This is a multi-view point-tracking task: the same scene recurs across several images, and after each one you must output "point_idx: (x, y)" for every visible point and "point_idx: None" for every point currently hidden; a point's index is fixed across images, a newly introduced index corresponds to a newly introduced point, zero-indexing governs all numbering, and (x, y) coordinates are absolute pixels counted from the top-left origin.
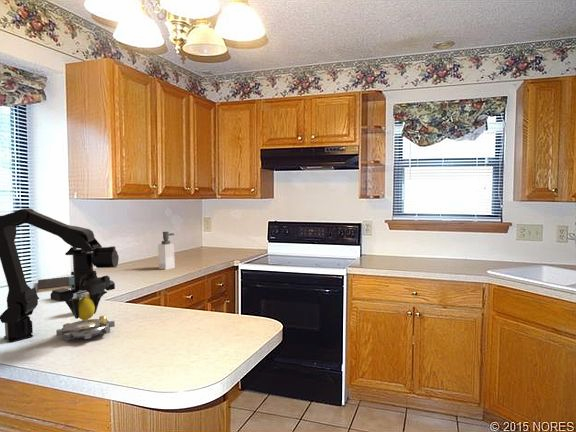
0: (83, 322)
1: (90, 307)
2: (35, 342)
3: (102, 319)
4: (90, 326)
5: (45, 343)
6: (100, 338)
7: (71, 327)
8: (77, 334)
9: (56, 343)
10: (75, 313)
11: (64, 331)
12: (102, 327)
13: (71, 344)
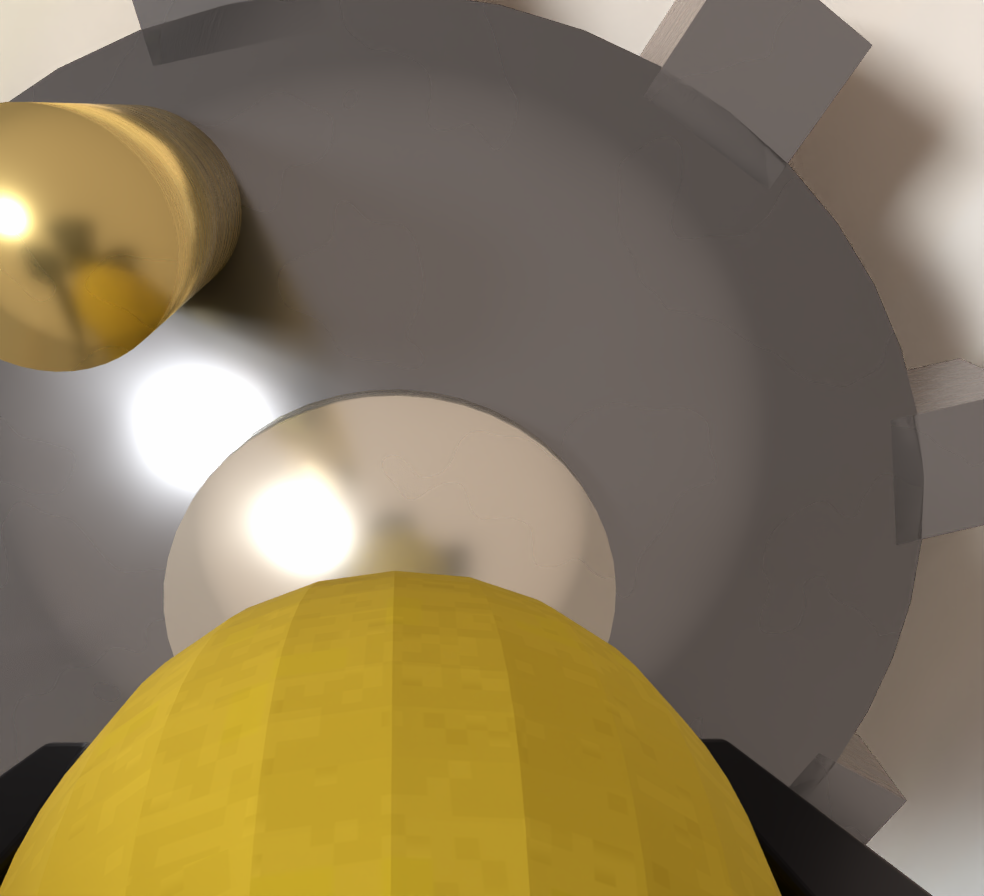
0: None
1: (392, 770)
2: (958, 876)
3: (141, 139)
4: (419, 411)
5: (951, 729)
6: None
7: None
8: (865, 281)
9: None
10: (874, 880)
11: (856, 672)
12: (251, 75)
13: None
